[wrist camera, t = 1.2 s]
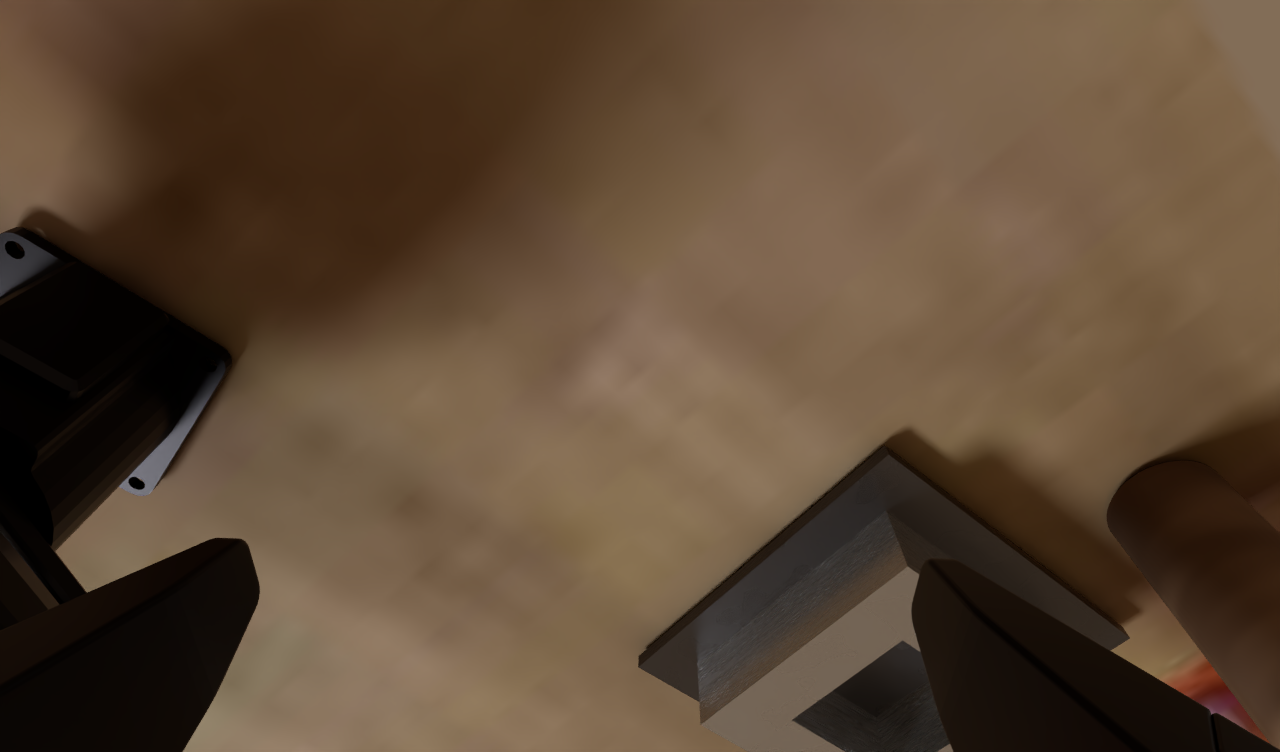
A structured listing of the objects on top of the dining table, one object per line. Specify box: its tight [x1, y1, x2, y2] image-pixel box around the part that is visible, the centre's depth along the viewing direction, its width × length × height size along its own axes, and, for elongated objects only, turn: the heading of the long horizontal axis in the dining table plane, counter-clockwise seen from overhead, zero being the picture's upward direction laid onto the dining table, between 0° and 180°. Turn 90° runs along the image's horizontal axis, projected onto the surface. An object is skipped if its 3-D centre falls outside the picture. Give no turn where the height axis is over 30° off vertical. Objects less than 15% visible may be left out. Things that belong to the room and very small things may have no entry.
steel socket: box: [638, 445, 1130, 752], centre depth 27 cm, size 12×12×3 cm
